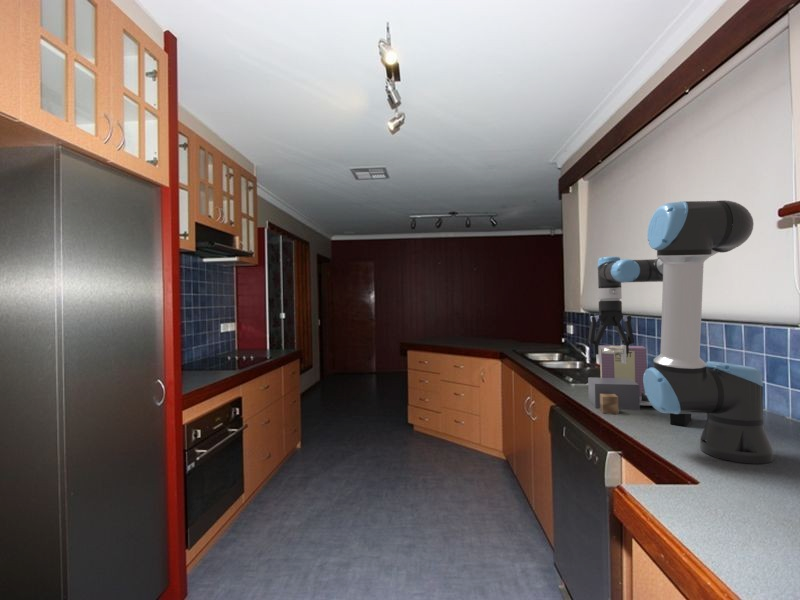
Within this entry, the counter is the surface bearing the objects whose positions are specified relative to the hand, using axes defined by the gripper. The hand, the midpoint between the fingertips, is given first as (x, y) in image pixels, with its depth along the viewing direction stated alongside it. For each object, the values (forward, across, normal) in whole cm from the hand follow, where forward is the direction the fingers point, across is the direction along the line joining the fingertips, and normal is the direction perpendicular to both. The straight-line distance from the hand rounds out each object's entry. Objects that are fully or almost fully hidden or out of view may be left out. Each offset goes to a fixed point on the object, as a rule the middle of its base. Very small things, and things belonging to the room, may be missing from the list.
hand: (611, 363), depth 159 cm
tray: (+17, +16, +9) cm, 25 cm away
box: (+18, +16, +30) cm, 38 cm away
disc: (-4, 0, 0) cm, 4 cm away
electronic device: (+18, +16, -14) cm, 28 cm away
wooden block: (+17, -1, -1) cm, 17 cm away
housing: (+17, +4, +11) cm, 21 cm away
